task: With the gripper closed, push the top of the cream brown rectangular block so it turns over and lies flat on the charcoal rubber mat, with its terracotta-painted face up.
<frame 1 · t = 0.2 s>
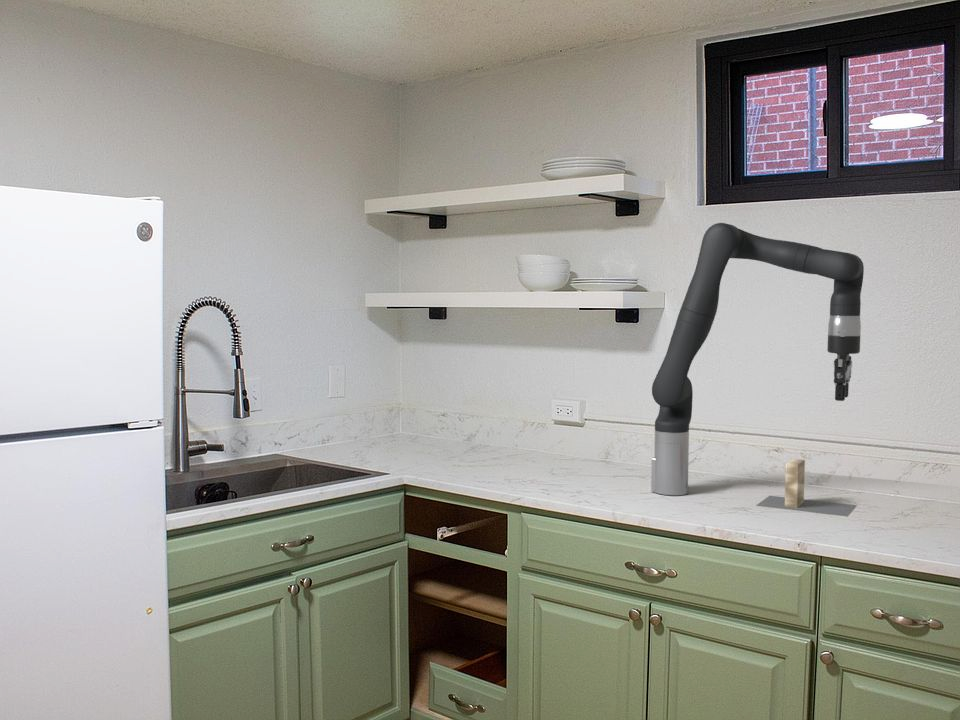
hand: (841, 398, 227), 28 cm above the worktop, fingers open, 8 cm apart
cream brown rectangular block: (794, 504, 234), resting on rubber mat
rubber mat: (806, 507, 232), on the worktop
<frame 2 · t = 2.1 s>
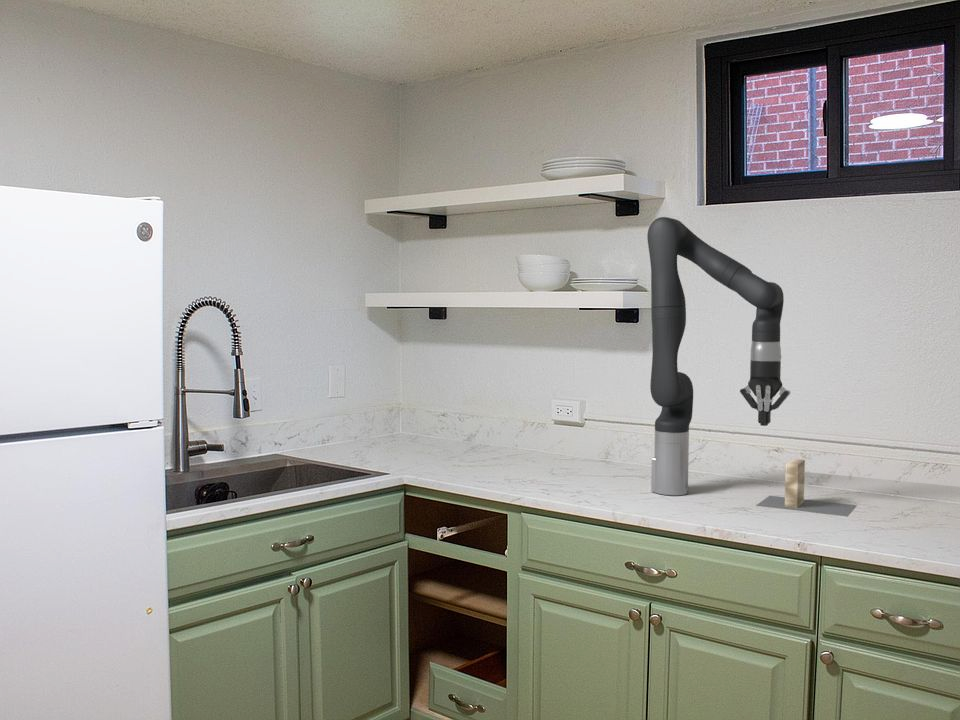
hand: (764, 425, 237), 20 cm above the worktop, fingers closed
nothing on the worktop moved.
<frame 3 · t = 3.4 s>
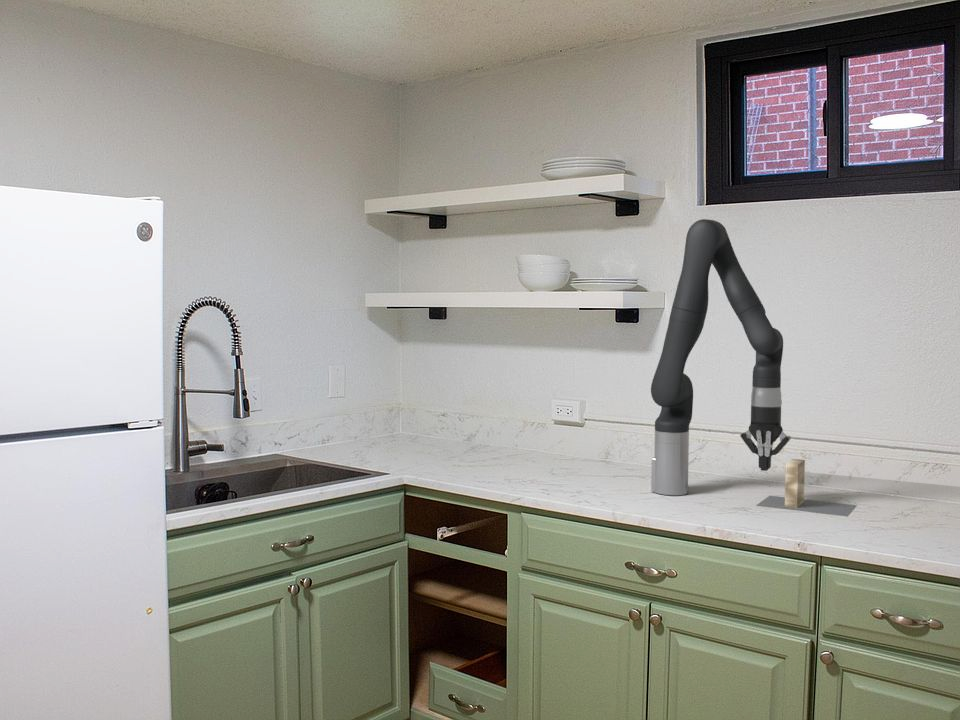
hand: (764, 470, 237), 9 cm above the worktop, fingers closed
nothing on the worktop moved.
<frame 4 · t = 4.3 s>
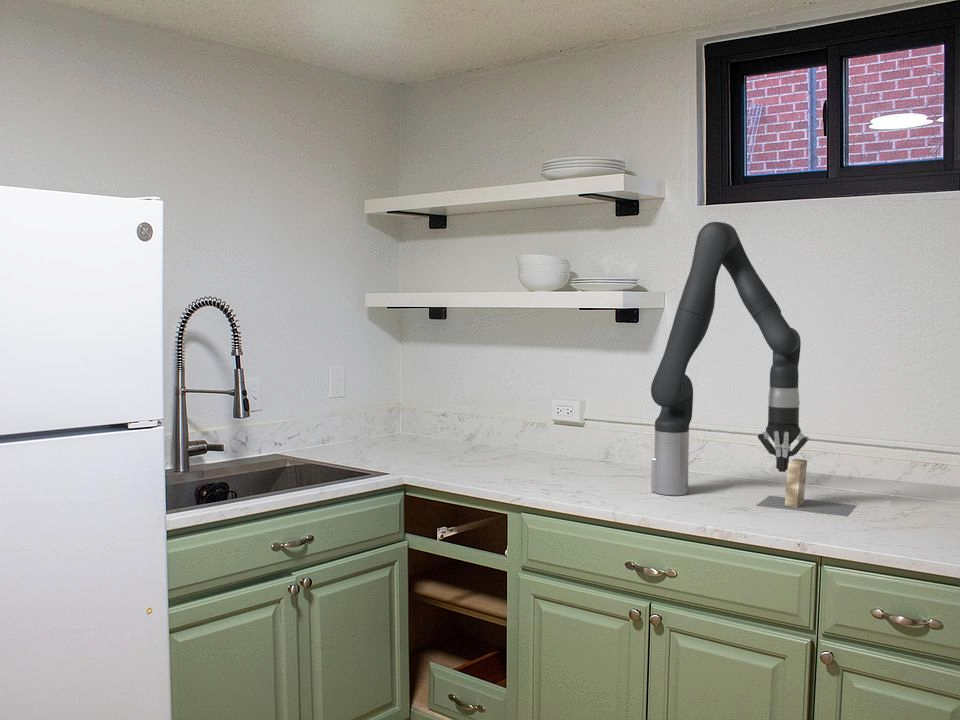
hand: (782, 471, 235), 9 cm above the worktop, fingers closed
cream brown rectangular block: (794, 503, 234), point 1 cm above the worktop, touching gripper, rubber mat
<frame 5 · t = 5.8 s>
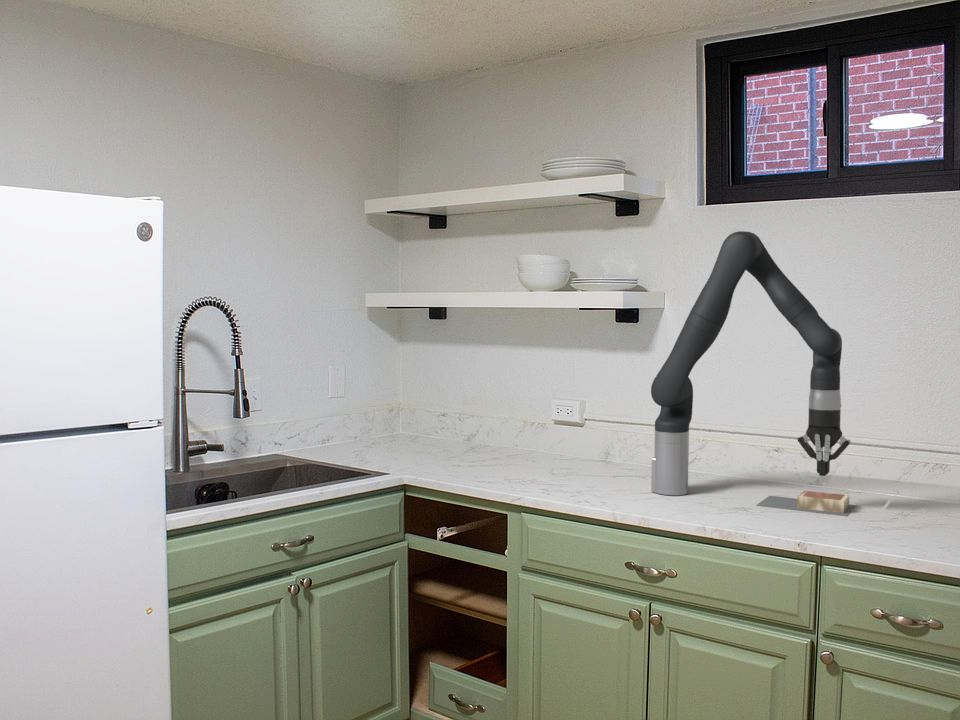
hand: (823, 475, 230), 9 cm above the worktop, fingers closed
cream brown rectangular block: (800, 499, 233), point 2 cm above the worktop, tilted 90°, touching rubber mat
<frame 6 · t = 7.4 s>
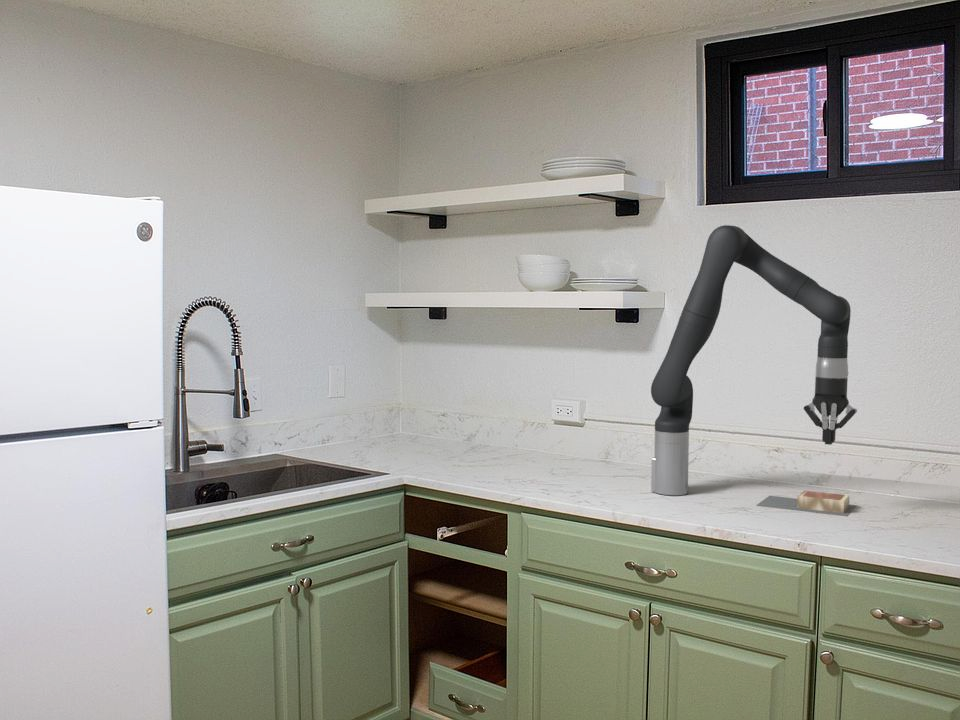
hand: (828, 444, 229), 17 cm above the worktop, fingers closed
nothing on the worktop moved.
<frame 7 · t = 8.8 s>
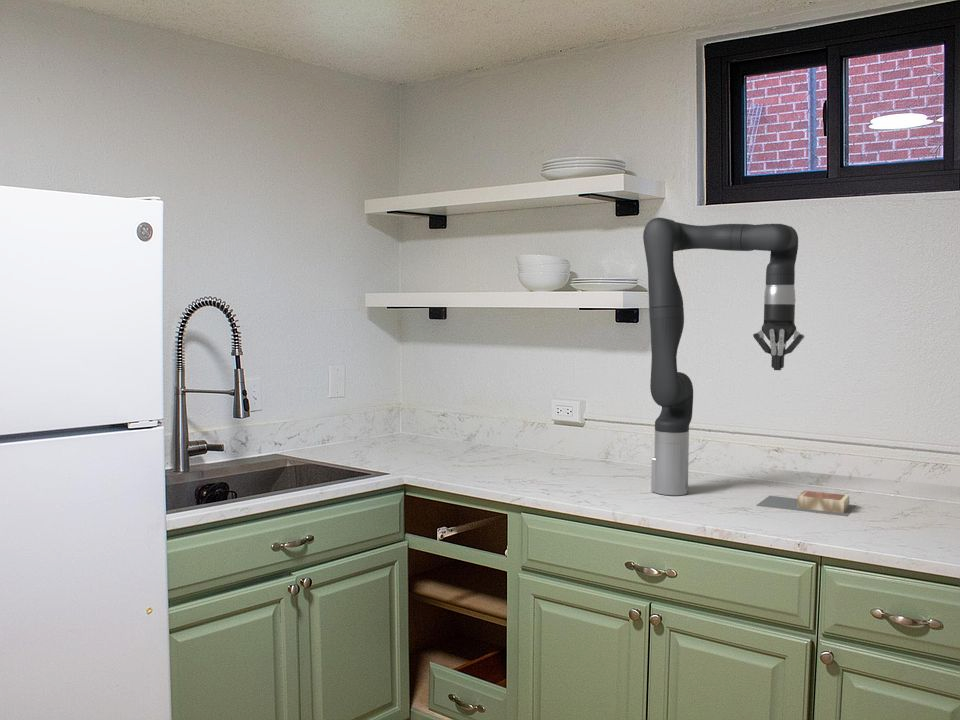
hand: (777, 370, 234), 35 cm above the worktop, fingers closed
nothing on the worktop moved.
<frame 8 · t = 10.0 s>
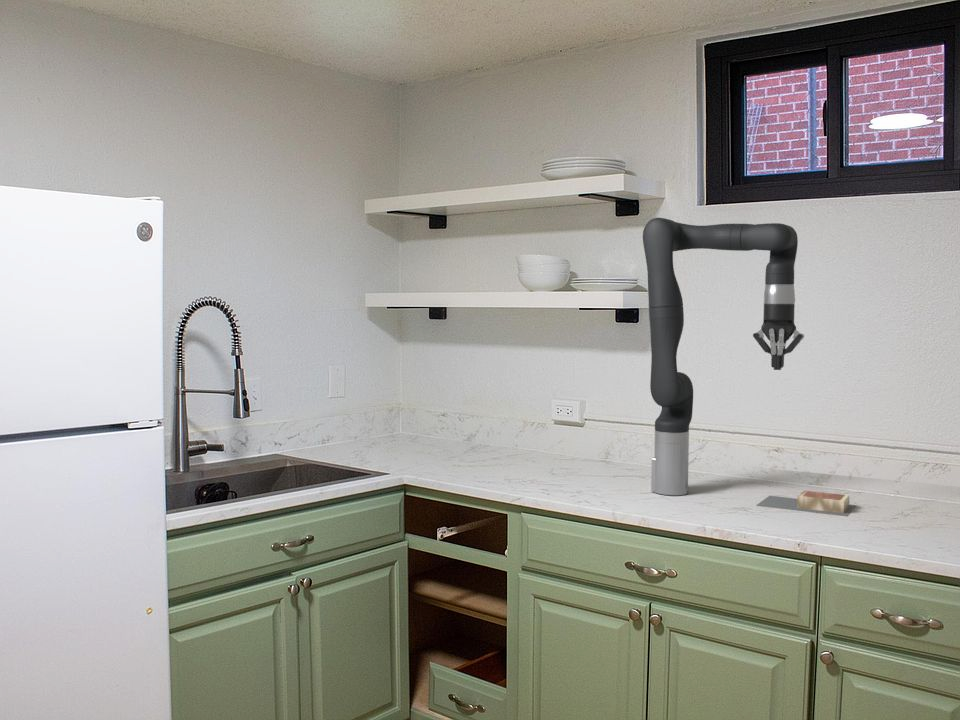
hand: (777, 369, 234), 35 cm above the worktop, fingers closed
nothing on the worktop moved.
at the end: cream brown rectangular block tilted 90°; cream brown rectangular block inside the target area (0.9 cm from its centre), point 2.0 cm above the worktop; the gripper is holding nothing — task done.
